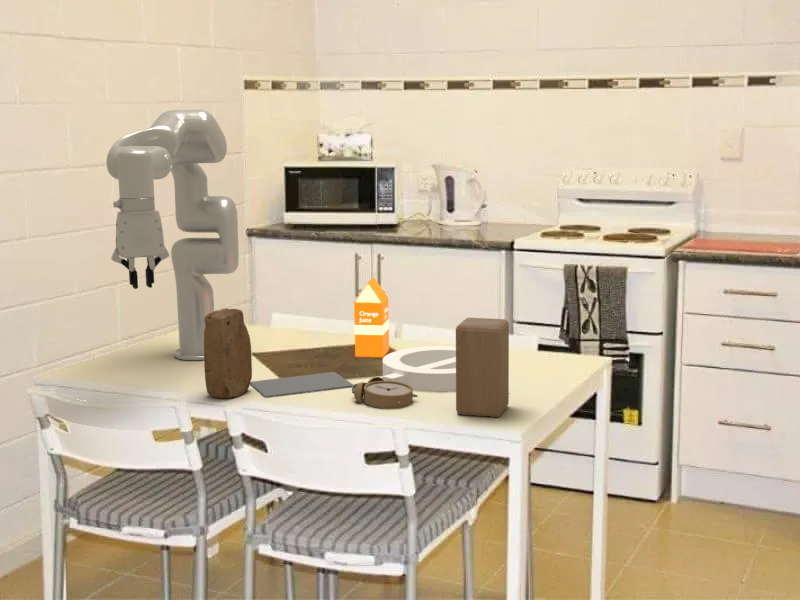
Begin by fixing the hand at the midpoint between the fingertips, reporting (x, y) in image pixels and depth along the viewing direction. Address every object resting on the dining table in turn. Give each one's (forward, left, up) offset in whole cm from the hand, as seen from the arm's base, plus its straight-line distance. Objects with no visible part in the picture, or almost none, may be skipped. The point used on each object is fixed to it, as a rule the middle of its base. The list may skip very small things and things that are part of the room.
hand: (142, 286), depth 259 cm
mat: (0, +36, -27) cm, 46 cm away
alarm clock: (+21, +49, -28) cm, 60 cm away
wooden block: (+38, +66, -27) cm, 81 cm away
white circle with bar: (+7, +70, -28) cm, 76 cm away
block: (0, +19, -27) cm, 33 cm away
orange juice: (-23, +64, -27) cm, 73 cm away
